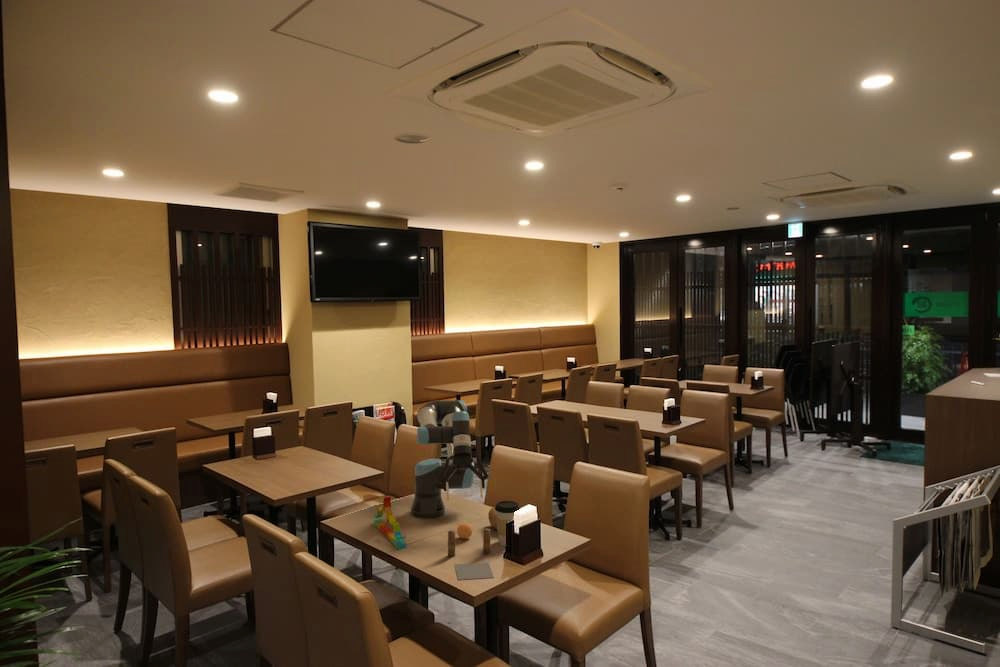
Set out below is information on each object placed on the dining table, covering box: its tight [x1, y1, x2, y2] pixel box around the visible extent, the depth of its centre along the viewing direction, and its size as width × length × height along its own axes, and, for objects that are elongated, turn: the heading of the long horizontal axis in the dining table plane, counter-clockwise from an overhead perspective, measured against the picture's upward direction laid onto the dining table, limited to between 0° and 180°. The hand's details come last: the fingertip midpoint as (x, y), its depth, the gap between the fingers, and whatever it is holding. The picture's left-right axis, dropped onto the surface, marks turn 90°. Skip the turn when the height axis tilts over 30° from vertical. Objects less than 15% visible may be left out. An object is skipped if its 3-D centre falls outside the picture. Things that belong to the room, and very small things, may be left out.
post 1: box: [447, 529, 456, 558], centre depth 215 cm, size 3×3×9 cm
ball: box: [456, 522, 473, 540], centre depth 232 cm, size 6×6×6 cm
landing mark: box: [454, 562, 495, 581], centre depth 202 cm, size 12×12×1 cm
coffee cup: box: [494, 500, 521, 546], centre depth 229 cm, size 10×10×15 cm
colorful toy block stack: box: [373, 496, 408, 550], centre depth 235 cm, size 30×3×15 cm, turn 30°
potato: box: [487, 506, 497, 530], centre depth 242 cm, size 10×14×8 cm
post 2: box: [482, 528, 491, 556], centre depth 217 cm, size 3×3×9 cm
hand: (464, 497), depth 235 cm, fingers open, 13 cm apart
